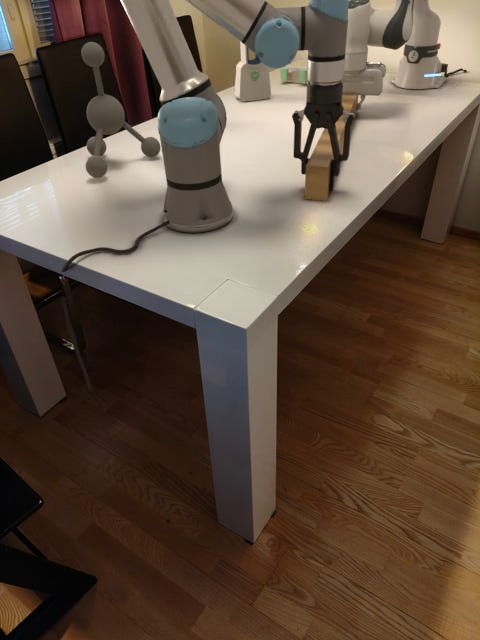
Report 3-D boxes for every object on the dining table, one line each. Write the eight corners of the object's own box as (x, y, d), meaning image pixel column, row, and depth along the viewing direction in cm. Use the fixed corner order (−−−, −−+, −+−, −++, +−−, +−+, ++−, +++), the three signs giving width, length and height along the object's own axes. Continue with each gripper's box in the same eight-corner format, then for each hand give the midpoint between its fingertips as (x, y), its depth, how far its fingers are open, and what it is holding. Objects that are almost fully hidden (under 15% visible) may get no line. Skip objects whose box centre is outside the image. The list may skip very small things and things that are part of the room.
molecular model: (172, 168, 131) (155, 42, 113) (90, 184, 125) (57, 53, 107) (152, 143, 149) (134, 30, 130) (79, 156, 143) (49, 39, 124)
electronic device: (239, 102, 182) (235, 7, 164) (234, 97, 188) (230, 5, 170) (271, 98, 184) (270, 4, 166) (265, 93, 190) (264, 2, 172)
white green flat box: (303, 54, 216) (344, 57, 207) (302, 70, 220) (342, 74, 211) (271, 65, 200) (314, 69, 191) (271, 82, 204) (314, 87, 195)
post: (326, 200, 111) (328, 166, 106) (304, 199, 112) (305, 165, 108) (356, 113, 164) (359, 88, 159) (342, 113, 165) (344, 88, 160)
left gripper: (370, 77, 102) (359, 184, 116) (286, 77, 107) (285, 179, 121) (367, 86, 96) (356, 197, 111) (278, 85, 101) (278, 191, 115)
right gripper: (387, 60, 150) (381, 107, 158) (321, 59, 155) (319, 105, 164) (386, 64, 145) (380, 112, 154) (318, 64, 150) (315, 111, 159)
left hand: (319, 187), depth 116 cm, fingers closed on post, 5 cm apart
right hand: (348, 109), depth 159 cm, fingers closed on post, 5 cm apart
